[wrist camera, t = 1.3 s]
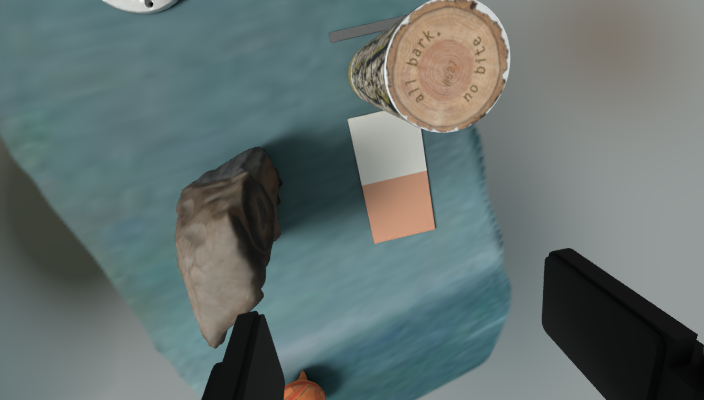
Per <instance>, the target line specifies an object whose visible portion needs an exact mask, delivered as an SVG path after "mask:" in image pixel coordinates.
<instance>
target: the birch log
mask: <svg viewBox="0 0 704 400" xmlns="http://www.w3.org/2000/svg"><path fill="white" fill-rule="evenodd" d="M509 68H510V47H509V42H508V38H507V35H506V32H505V30H504V27H503V26H502V24H501V22H500V20H499V19H498V18H497V16H496V15H495V14H494V13H493V12H492V11H491V10H490V9H489V8H488V7H486V6H485V5H483V4H482V3H480V2H478V1H476V0H431V1H429V2H427V3H425V4H422V5H421V6H419V7H417V8H416V9H415V10H413V11H412V12H410V13H409V14H408V15H406V16H405V17H403V18H402V19H401V20H399V21H398V22H396V23H395V24H394V25H392V26H391V27H390V28H388V29H387V30H385V31H384V32H383V33H381V34H380V35H378V36H377V37H376V38H374V39H373V40H371V41H370V42H369V43H367V44H366V45H365V46H363V47H362V48H361V49H359V50H358V51H357V52H356V54H355V55H354V56H353V58H352V60H351V62H350V66H349V72H348V75H349V82H350V85H351V87H352V89H353V91H354V92H355V93H356V95H357V96H358V97H360V98H361V99H363V100H365V101H366V102H368V103H370V104H372V105H374V106H376V107H378V108H380V109H382V110H384V111H386V112H388V113H390V114H392V115H394V116H396V117H398V118H400V119H402V120H404V121H406V122H408V123H410V124H412V125H414V126H416V127H418V128H421V129H423V130H427V131H431V132H438V133H446V132H453V131H458V130H461V129H464V128H466V127H468V126H470V125H472V124H474V123H475V122H477V121H478V120H480V119H481V118H482V117H483V116H485V115H486V114H487V113H488V112H489V111H490V110H491V108H492V107H493V106H494V104H495V103H496V102H497V100H498V99H499V97H500V95H501V93H502V91H503V89H504V87H505V84H506V81H507V78H508V74H509Z"/></svg>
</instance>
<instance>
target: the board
mask: <svg viewBox="0 0 704 400" xmlns="http://www.w3.org/2000/svg"><path fill="white" fill-rule="evenodd" d="M403 17H405V16H401V17H397V18H392V19H388V20H384V21H379V22H375V23H370V24H366V25H362V26H357V27H353V28H349V29H344V30H340V31H336V32H331V33H329V36H330V40H331V42H336V41H340V40H344V39H349V38H353V37H357V36H362V35H366V34H370V33H375V32H379V31H384V30H387V29H388V28H390V27H391V26H392V25H394V24H395V23H396V22H398V21H399V20H401V19H402V18H403ZM348 124H349V128H350V133H351V138H352V142H353V147H354V151H355V156H356V161H357V165H358V170H359V175H360V179H361V184H362V189H363V193H364V198H365V202H366V207H367V212H368V216H369V221H370V226H371V230H372V235H373V239H374V244H375V243H379V242H383V241H387V240H392V239H396V238H400V237H404V236H409V235H413V234H417V233H421V232H425V231H430V230H434V229H435V225H434V218H433V211H432V204H431V197H430V190H429V183H428V176H427V169H426V162H425V155H424V148H423V141H422V134H421V128H418V127H416V126H414V125H412V124H410V123H408V122H406V121H404V120H402V119H400V118H398V117H396V116H394V115H392V114H390V113H388V112H386V111H380V112H376V113H371V114H367V115H363V116H358V117H354V118H350V119H348Z"/></svg>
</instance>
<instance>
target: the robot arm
mask: <svg viewBox="0 0 704 400" xmlns="http://www.w3.org/2000/svg"><path fill="white" fill-rule="evenodd" d="M102 1H103V2H105V3H107V4H109V5H111V6H113V7H115V8H118V9H120V10H123V11H127V12H131V13H135V14H152V13H158V12H161V11H163V10H165V9H168V8H170V7H171V6H172V5H174V4H175V3H177V2H178V1H179V0H102ZM152 2H153V7H151V3H152ZM542 307H543V308H542V325H543V328H544V330H545V331H546V333H547V334H548V335H549V336H550V337H551V339H552V340H553V341H554V342H555V343H556V344H557V345H558V346H559V347H560V349H561V350H562V351H563V352H564V353H565V354H566V355H567V356H568V358H569V359H570V360H571V361H572V362H573V363H574V364H575V365H576V367H577V368H578V369H579V370H580V371H581V372H582V373H583V374H584V375H585V377H586V378H587V379H588V380H589V381H590V382H591V383H592V384H593V386H594V387H596V389H597V390H598V391H599V392H600V393H601V394H602V396H603V397H604V398H605V399H606V400H704V345H703V344H702V343H700V342H699V341H697V340H696V339H697V336H698V334H696V333H695V332H693V331H692V330H690V329H689V328H687V327H686V326H685V325H683V324H682V323H680V322H679V321H677V320H676V319H674V318H673V317H671V316H670V315H668V314H667V313H665V312H664V311H662V310H661V309H659V308H658V307H656V306H655V305H654V304H652V303H651V302H649V301H648V300H646V299H645V298H643V297H642V296H640V295H639V294H637V293H636V292H635V291H633V290H632V289H630V288H629V287H627V286H626V285H624V284H623V283H621V282H620V281H618V280H617V279H615V278H614V277H612V276H611V275H610V274H608V273H606V272H605V271H604V270H602V269H601V268H599V267H598V266H596V265H595V264H593V263H592V262H590V261H589V260H588V259H586V258H584V257H583V256H582V255H580V254H579V253H577V252H576V251H574V250H573V249H571V248H566V249H561V250H556V251H552V252H550V253H549V257H546V259H545V266H544V286H543V306H542ZM284 391H285V380H284V375H283V372H282V368H281V365H280V362H279V359H278V356H277V353H276V350H275V346H274V343H273V340H272V337H271V334H270V331H269V328H268V325H267V321H266V318H265V316H264V314H261V315H259V314H258V312H257V311H252V312H247V313H243V314H239V315H238V316H237V318H236V321H235V324H234V327H233V331H232V334H231V337H230V340H229V343H228V346H227V349H226V352H225V355H224V358H223V362H220V363H216V364H215V365H214V366H213V369H212V371H211V374H210V376H209V379H208V382H207V385H206V388H205V391H204V394H203V397H202V399H201V400H284Z"/></svg>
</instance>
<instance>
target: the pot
mask: <svg viewBox="0 0 704 400" xmlns="http://www.w3.org/2000/svg"><path fill="white" fill-rule="evenodd" d="M284 400H326V396H325V393H324V391H323V390H322V388H321V387H320V386H319V385H318V384H316V383H314V382H312V381H308V380H307V377H306V375H305V372H304V371H301V374H300V376H299V379H298V380H296V381H293V382H291V383H289V384H287V385H286V386H285V391H284Z"/></svg>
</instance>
